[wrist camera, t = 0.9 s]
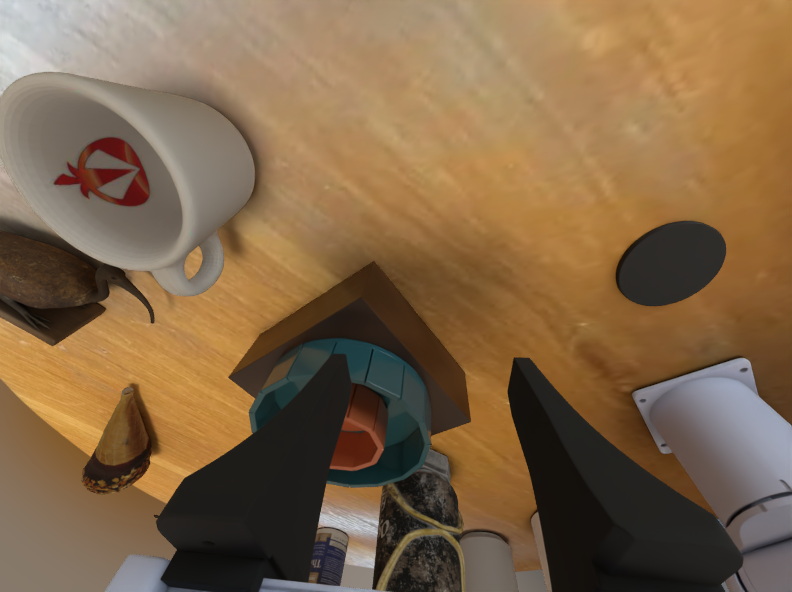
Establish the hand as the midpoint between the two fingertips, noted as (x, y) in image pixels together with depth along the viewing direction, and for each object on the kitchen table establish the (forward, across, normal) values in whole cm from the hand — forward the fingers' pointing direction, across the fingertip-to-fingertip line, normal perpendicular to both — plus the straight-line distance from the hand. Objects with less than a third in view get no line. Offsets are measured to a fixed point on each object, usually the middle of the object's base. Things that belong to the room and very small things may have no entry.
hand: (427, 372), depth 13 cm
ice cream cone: (+9, +30, +13) cm, 34 cm away
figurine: (+8, +31, +2) cm, 32 cm away
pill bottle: (+10, +15, +45) cm, 49 cm away
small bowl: (+5, +6, +8) cm, 11 cm away
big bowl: (+5, +6, +8) cm, 12 cm away
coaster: (+10, -16, 0) cm, 19 cm away
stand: (+10, +6, +8) cm, 15 cm away
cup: (+10, +14, -6) cm, 18 cm away
